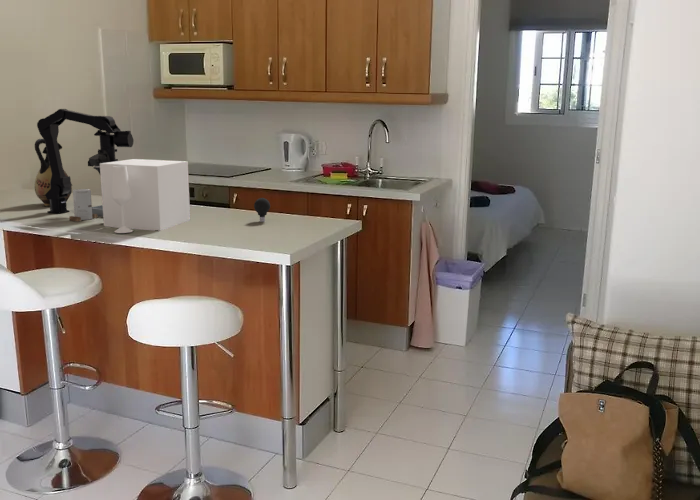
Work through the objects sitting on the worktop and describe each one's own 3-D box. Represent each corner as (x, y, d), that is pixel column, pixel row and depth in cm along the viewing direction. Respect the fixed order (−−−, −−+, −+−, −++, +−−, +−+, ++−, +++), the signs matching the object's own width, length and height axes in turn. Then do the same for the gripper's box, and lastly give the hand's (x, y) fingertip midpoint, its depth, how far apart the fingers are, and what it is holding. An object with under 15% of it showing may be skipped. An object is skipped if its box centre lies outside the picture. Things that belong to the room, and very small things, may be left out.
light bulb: (273, 221, 273) (272, 197, 271) (266, 224, 267) (265, 199, 265) (258, 220, 275) (258, 196, 273) (251, 223, 269) (251, 198, 267)
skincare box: (77, 220, 270) (75, 190, 268) (74, 219, 274) (71, 189, 271) (93, 219, 274) (91, 189, 271) (89, 217, 277) (87, 188, 275)
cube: (190, 222, 273) (187, 161, 268) (160, 231, 253) (157, 166, 248) (137, 218, 280) (133, 158, 275) (104, 227, 260) (99, 163, 255)
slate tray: (87, 214, 284) (86, 207, 283) (112, 210, 296) (112, 203, 295) (111, 217, 278) (110, 210, 277) (136, 212, 290) (136, 206, 289)
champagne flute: (113, 230, 253) (109, 165, 247) (132, 229, 255) (128, 165, 250) (115, 233, 247) (110, 167, 241) (134, 232, 249) (130, 167, 244)
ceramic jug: (60, 201, 318) (55, 137, 312) (79, 204, 310) (74, 138, 303) (25, 205, 305) (19, 138, 298) (44, 209, 296) (38, 140, 290)
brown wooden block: (69, 220, 271) (69, 216, 270) (88, 216, 279) (88, 213, 279) (78, 221, 269) (78, 217, 268) (97, 217, 277) (97, 214, 277)
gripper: (75, 147, 278) (78, 184, 281) (108, 149, 269) (111, 188, 273) (97, 145, 287) (99, 182, 291) (129, 147, 279) (131, 185, 282)
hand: (109, 184), depth 284 cm, fingers open, 5 cm apart
